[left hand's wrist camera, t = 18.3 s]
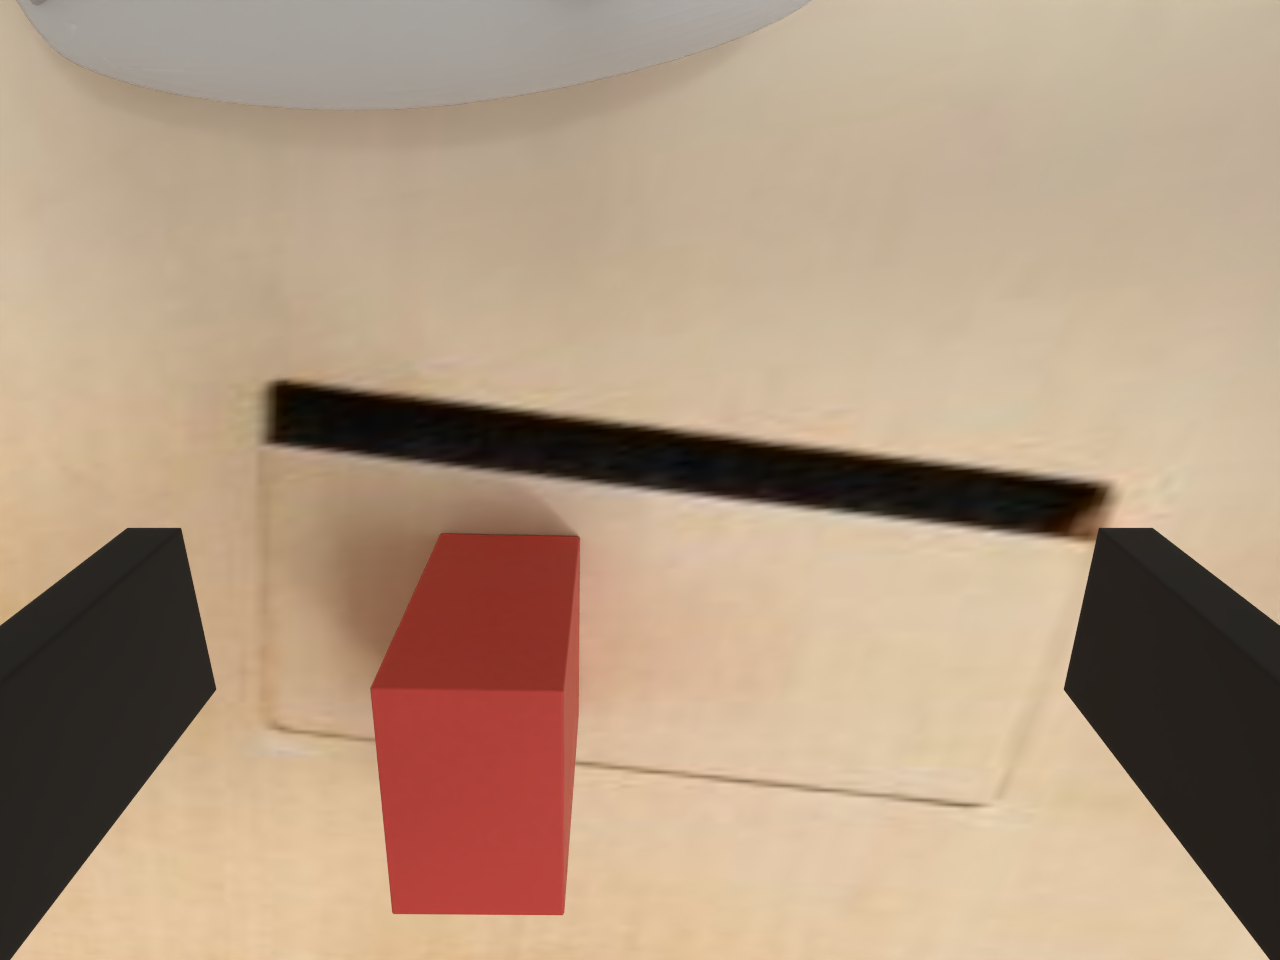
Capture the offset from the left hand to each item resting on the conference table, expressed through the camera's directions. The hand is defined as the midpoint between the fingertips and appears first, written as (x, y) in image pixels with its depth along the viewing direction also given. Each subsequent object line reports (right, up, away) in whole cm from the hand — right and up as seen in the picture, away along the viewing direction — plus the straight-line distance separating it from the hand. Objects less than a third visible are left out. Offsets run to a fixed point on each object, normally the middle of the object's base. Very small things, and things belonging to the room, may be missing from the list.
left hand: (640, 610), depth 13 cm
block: (-5, -4, +22) cm, 23 cm away
